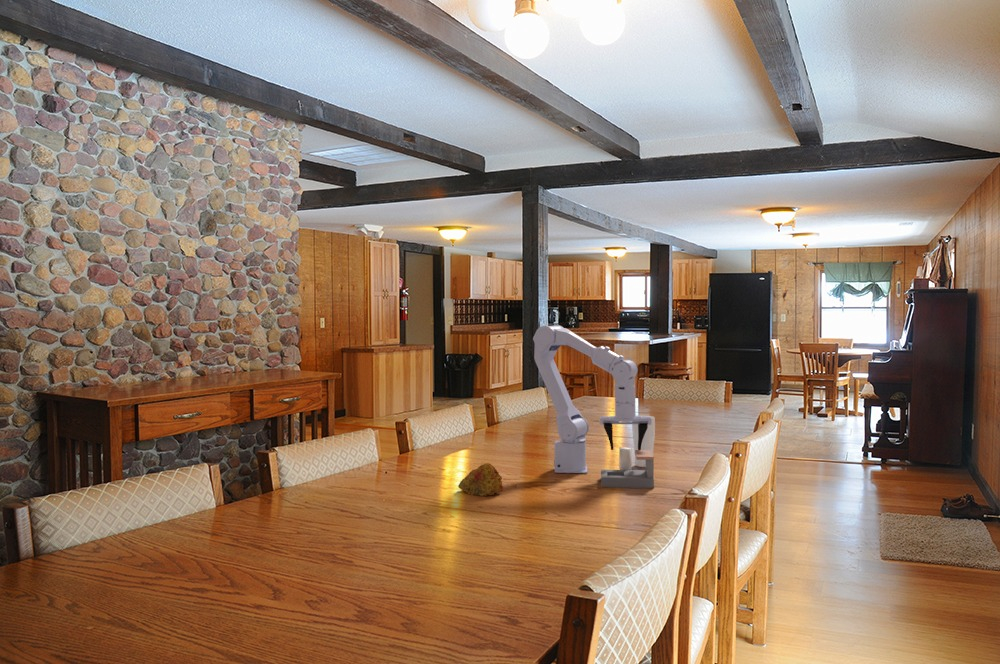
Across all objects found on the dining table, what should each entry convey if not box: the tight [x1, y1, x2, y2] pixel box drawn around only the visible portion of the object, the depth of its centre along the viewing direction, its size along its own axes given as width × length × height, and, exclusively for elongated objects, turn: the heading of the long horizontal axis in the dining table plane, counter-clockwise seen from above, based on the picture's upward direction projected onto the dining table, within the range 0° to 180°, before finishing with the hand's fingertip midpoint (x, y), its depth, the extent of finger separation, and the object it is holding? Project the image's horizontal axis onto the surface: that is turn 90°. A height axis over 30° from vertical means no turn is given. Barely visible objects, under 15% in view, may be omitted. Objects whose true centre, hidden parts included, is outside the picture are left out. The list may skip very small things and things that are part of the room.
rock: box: [457, 462, 504, 497], centre depth 193 cm, size 11×8×10 cm
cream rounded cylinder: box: [631, 415, 656, 468], centre depth 221 cm, size 7×7×15 cm
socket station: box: [600, 450, 655, 489], centre depth 200 cm, size 14×10×8 cm
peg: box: [618, 447, 633, 470], centre depth 208 cm, size 3×3×8 cm
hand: (625, 449), depth 208 cm, fingers open, 7 cm apart
